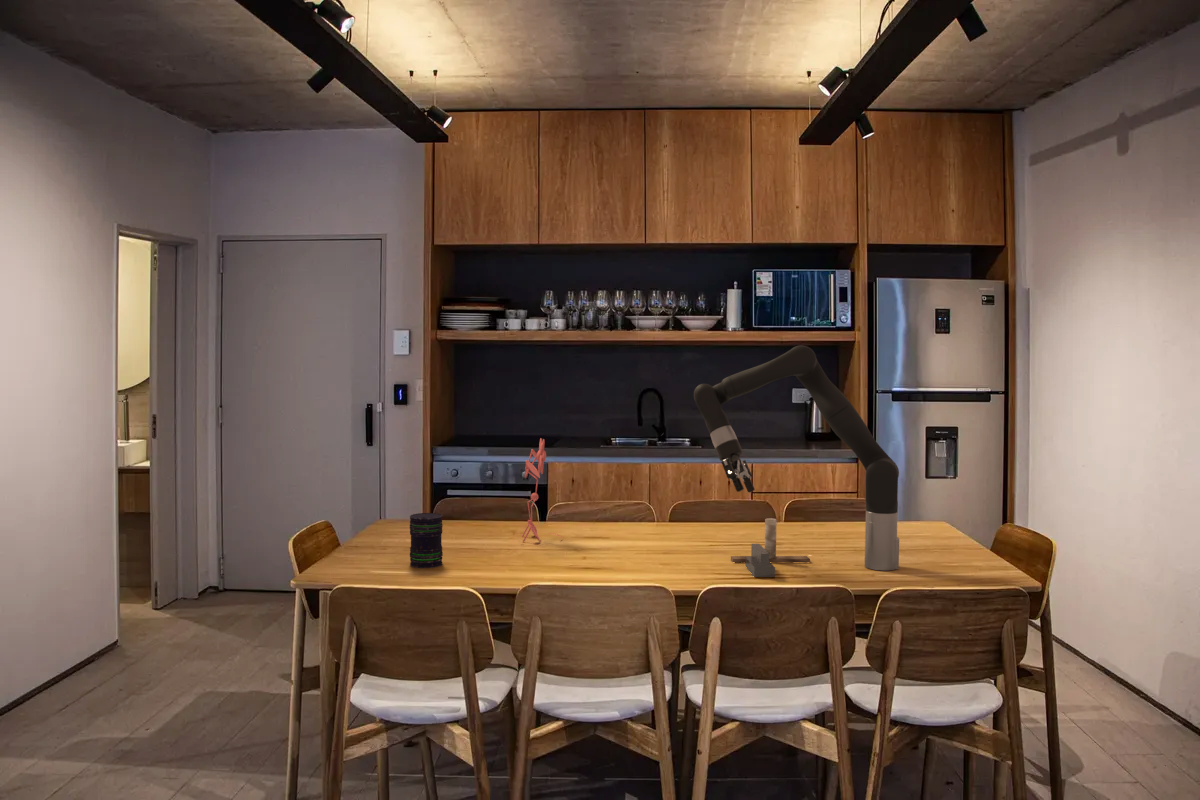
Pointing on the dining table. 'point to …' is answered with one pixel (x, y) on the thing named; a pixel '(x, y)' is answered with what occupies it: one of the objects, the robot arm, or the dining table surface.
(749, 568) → the ridge
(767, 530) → the balance bar
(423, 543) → the storage jar
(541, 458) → the figurine
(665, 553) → the dining table surface
